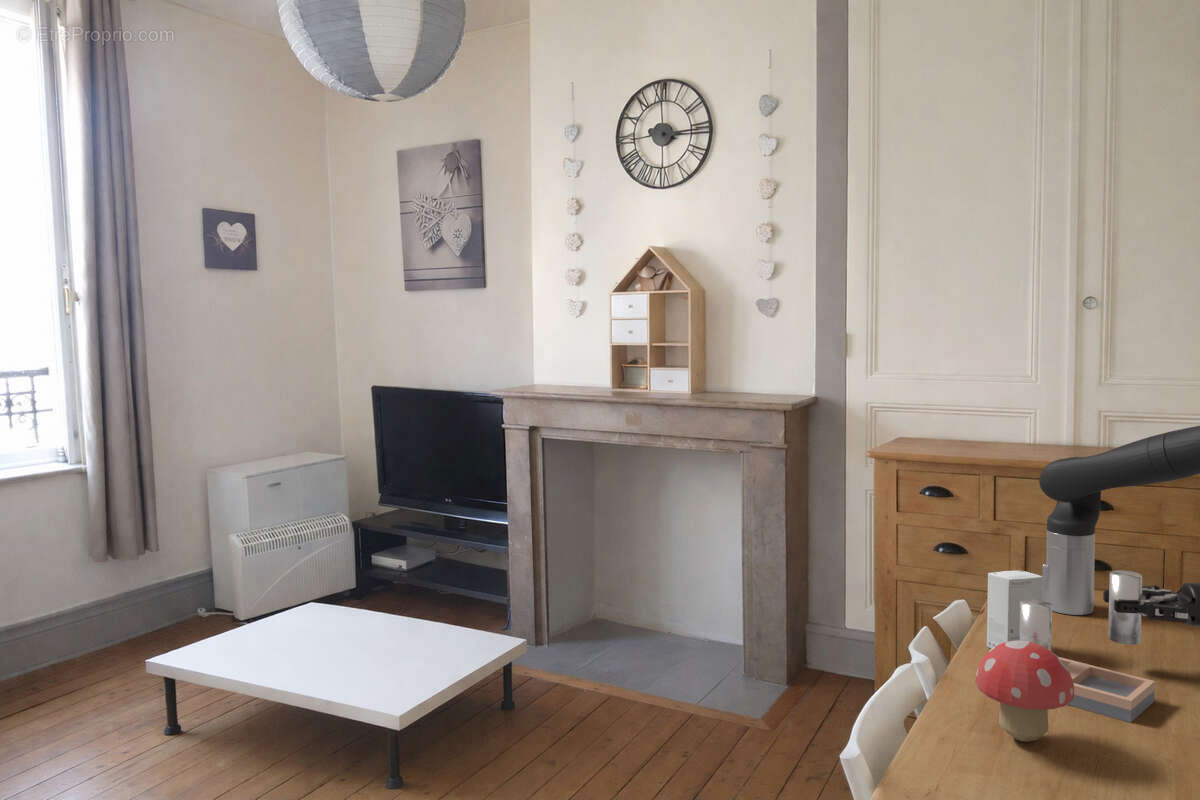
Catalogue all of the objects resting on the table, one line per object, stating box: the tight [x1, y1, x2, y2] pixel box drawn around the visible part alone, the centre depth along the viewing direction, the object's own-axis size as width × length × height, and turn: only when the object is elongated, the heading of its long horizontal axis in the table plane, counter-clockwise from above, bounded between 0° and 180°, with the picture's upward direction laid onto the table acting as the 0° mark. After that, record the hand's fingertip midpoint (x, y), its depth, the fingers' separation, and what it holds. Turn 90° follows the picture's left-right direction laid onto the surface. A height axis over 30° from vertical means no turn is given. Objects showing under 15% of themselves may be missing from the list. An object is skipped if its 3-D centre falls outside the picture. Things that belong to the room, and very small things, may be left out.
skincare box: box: [986, 569, 1043, 650], centre depth 167 cm, size 8×6×15 cm
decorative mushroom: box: [974, 640, 1074, 743], centre depth 131 cm, size 13×13×15 cm
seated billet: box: [1020, 599, 1053, 652], centre depth 152 cm, size 5×5×12 cm
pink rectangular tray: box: [1057, 656, 1156, 724], centre depth 148 cm, size 22×11×4 cm, turn 41°
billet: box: [1107, 569, 1143, 646], centre depth 156 cm, size 5×5×12 cm
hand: (1109, 600), depth 157 cm, fingers closed on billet, 5 cm apart
